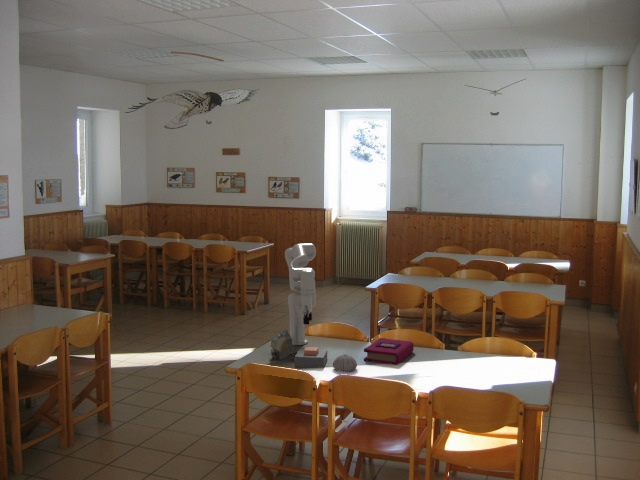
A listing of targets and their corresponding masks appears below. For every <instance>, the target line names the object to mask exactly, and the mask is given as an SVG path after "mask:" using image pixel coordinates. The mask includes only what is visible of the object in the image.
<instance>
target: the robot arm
mask: <svg viewBox="0 0 640 480" xmlns="http://www.w3.org/2000/svg"><path fill="white" fill-rule="evenodd" d="M316 255H317V248H316V246H315V245H314V243H297V244H294V245H293V246H292V247H289V248H286V249H285V251H284V258H285V261H286V264H287V267H288V273H289V274H288V277H289V278H288V279H289V280H288V281H289V288H290V290H291V291H295V292H294V293H290V294H289V295H288V297H287V303H288V312H289V334H290V336H291V337H292V344H293V346H302V345H307V344H308V339H306V325H310V321H312V320H313V317H312V316H313V313H312V311H313V308H314V307H315V306H317V305H316V304H317V296H316V295H317V294H316V293H317V291H316V280H315V277H316V271H315V270H314V268H312V267H306V266H307V265H308V264H309V262H311V261H313V260H314V258H315V257H316ZM296 291H297V292H296ZM298 291H299V292H298Z"/></svg>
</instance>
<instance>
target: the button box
mask: <svg viewBox="0 0 640 480" xmlns="http://www.w3.org/2000/svg"><path fill="white" fill-rule="evenodd" d="M298 349H299V350H298V351H297V352H296V354H295V356H294V366H295V367H297V368H298V367H299V368H300V367H303V368H324V367H325V365H326V363H327V360H328V349H319V348H318V354H317V355H304V350H305V348H298Z"/></svg>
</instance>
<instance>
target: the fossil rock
mask: <svg viewBox="0 0 640 480" xmlns="http://www.w3.org/2000/svg"><path fill="white" fill-rule="evenodd" d="M269 346H270V348H271V349H270V354H271V358H272V359H277V361H279V362H280V361H282V360H283V359H285V358H286V357H288V356H289V355H293V353H294V345H293V344H292V337H291V336H290V332H288V329H283V330H281V331H280V332H278V334H276V335H275V336H273V337H272V339H271V342H270V345H269Z"/></svg>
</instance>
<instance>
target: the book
mask: <svg viewBox="0 0 640 480" xmlns="http://www.w3.org/2000/svg"><path fill="white" fill-rule="evenodd" d="M363 352H364V353H366V357H363V361H364V362H370V363H379V364H386V365H392V366H393V365H397V366H398V365H399V364H400V363H401V362H402V361H404V359H406V358H407V357H408V356H409V355H410V354H412V353H413V352H414V343H413V342H412V340H411V341H410V340H403V339H402V340H400V339H393V338H386V337H384V338H383V337H382V338H381V337H379V338H378V339H377V340H375V341H374V342H373V343H371V344H370V345H368V346H367V347H365V348H363Z"/></svg>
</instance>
